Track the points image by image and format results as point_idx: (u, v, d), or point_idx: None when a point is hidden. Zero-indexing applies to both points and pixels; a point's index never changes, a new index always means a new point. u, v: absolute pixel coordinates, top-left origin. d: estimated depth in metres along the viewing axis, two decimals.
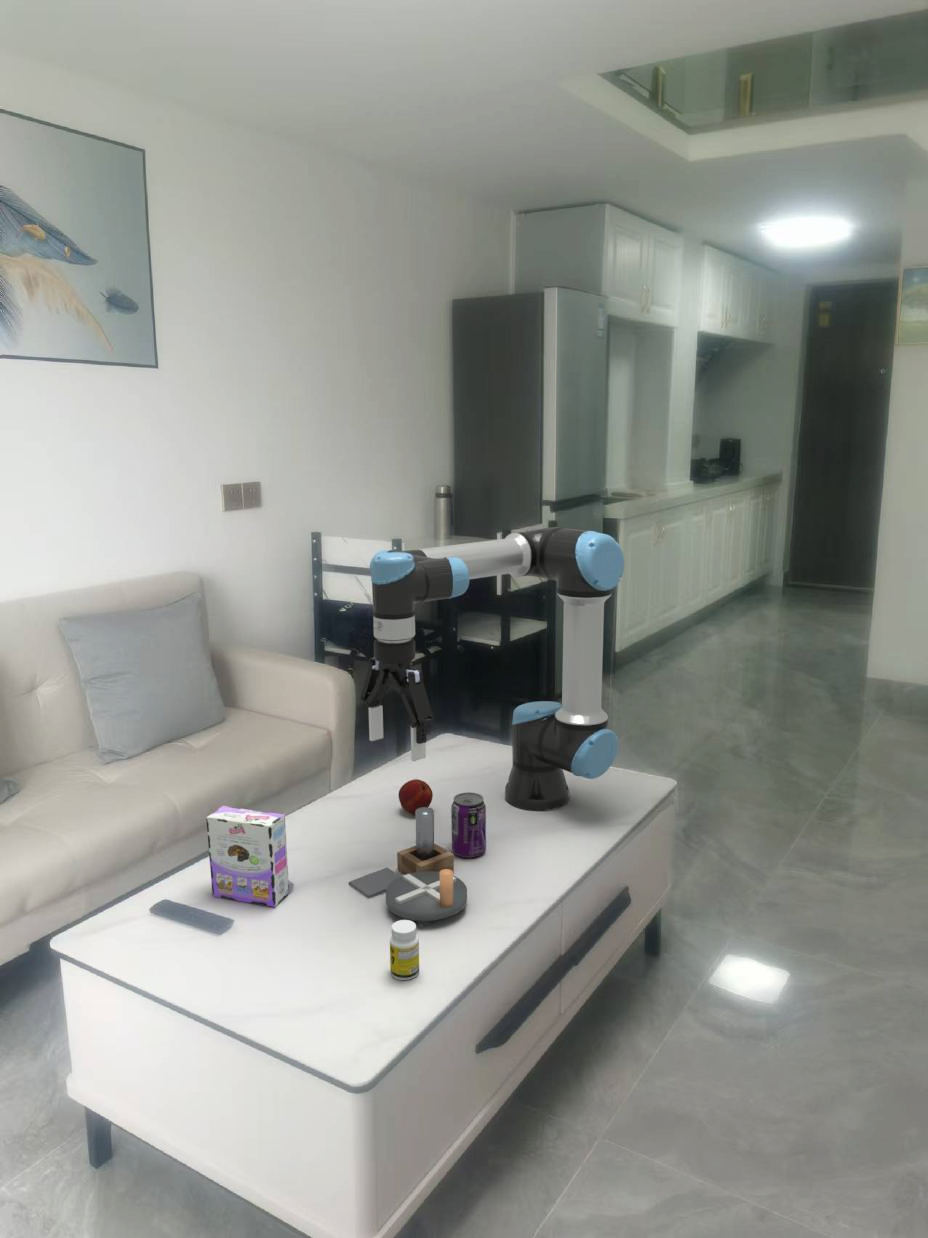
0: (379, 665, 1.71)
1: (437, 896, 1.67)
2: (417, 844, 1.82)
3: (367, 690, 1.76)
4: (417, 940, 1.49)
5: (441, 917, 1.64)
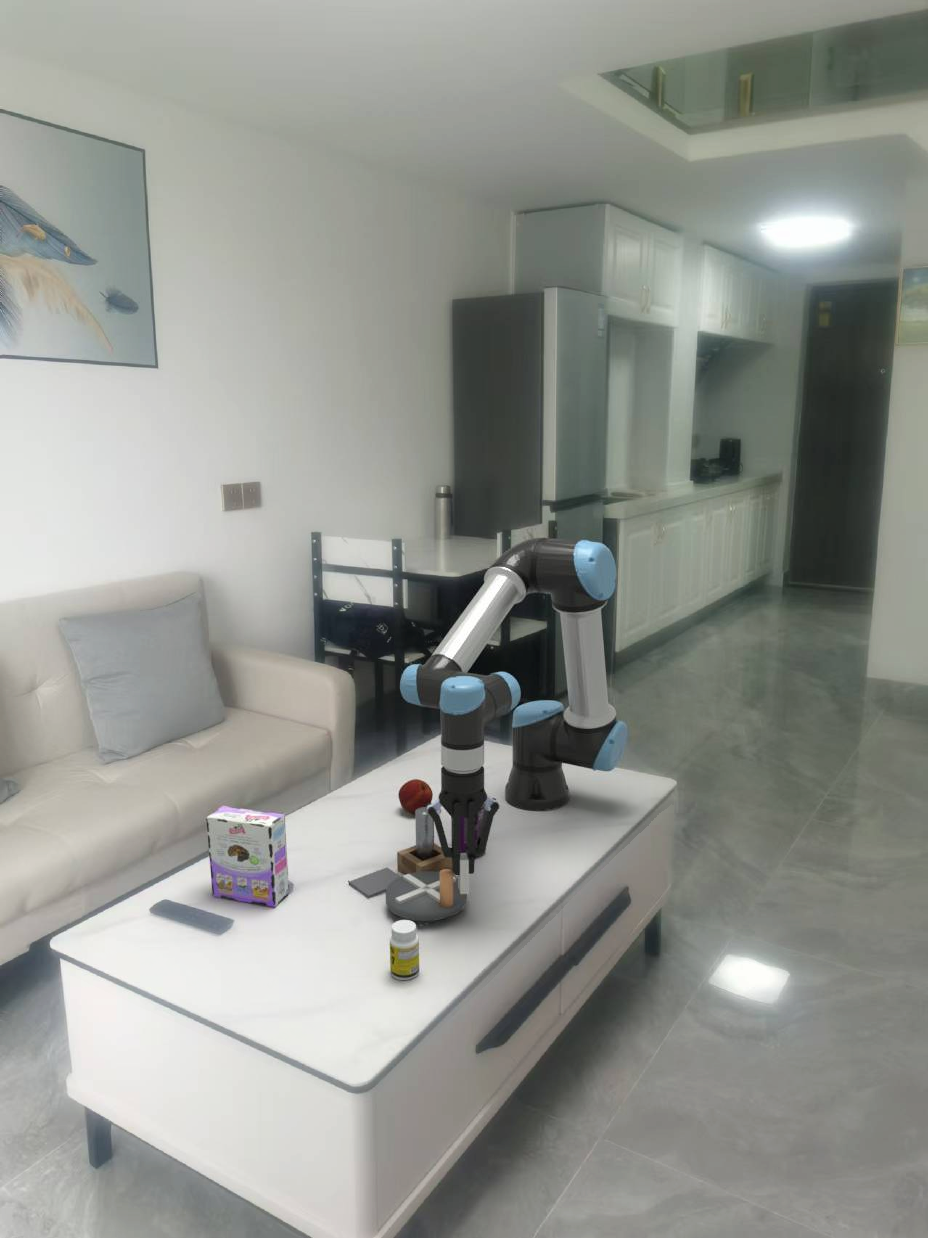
0: None
1: (437, 896, 1.67)
2: (417, 844, 1.82)
3: (479, 833, 1.65)
4: (417, 940, 1.49)
5: (441, 917, 1.64)
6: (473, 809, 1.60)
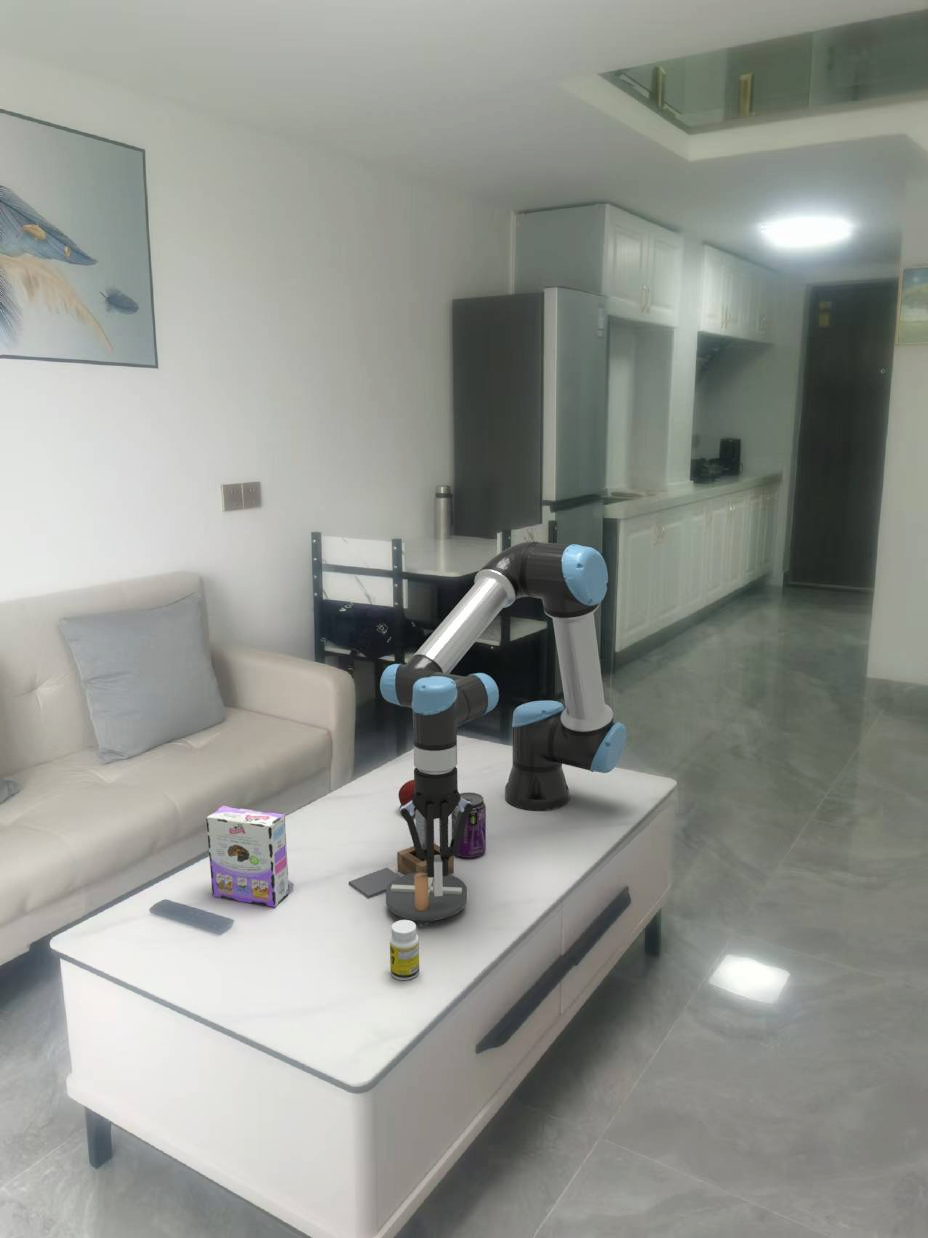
0: None
1: None
2: None
3: (453, 834, 1.64)
4: (417, 940, 1.49)
5: (409, 917, 1.64)
6: (446, 810, 1.59)
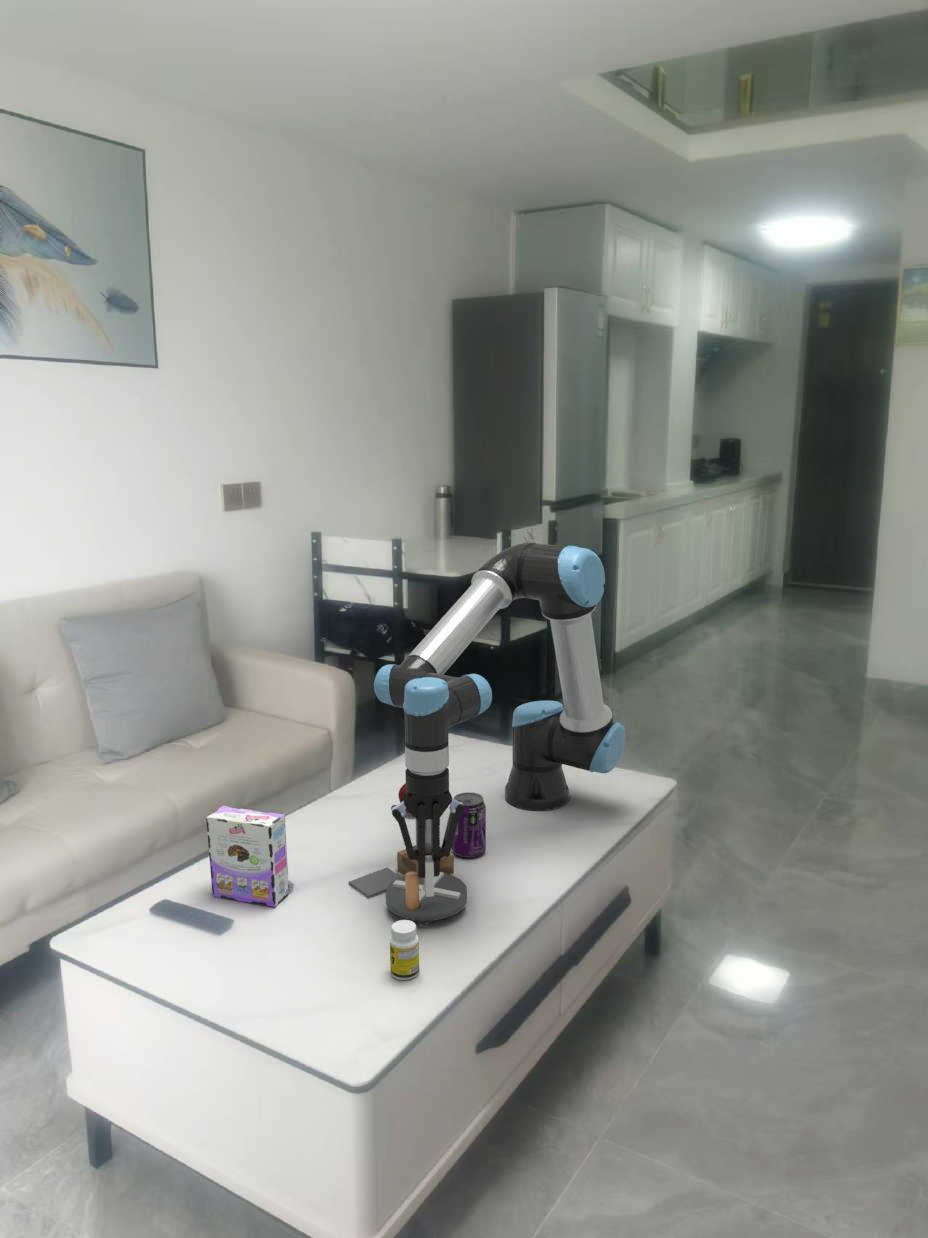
0: None
1: None
2: None
3: (444, 835, 1.64)
4: (417, 940, 1.49)
5: (399, 914, 1.65)
6: (438, 811, 1.59)
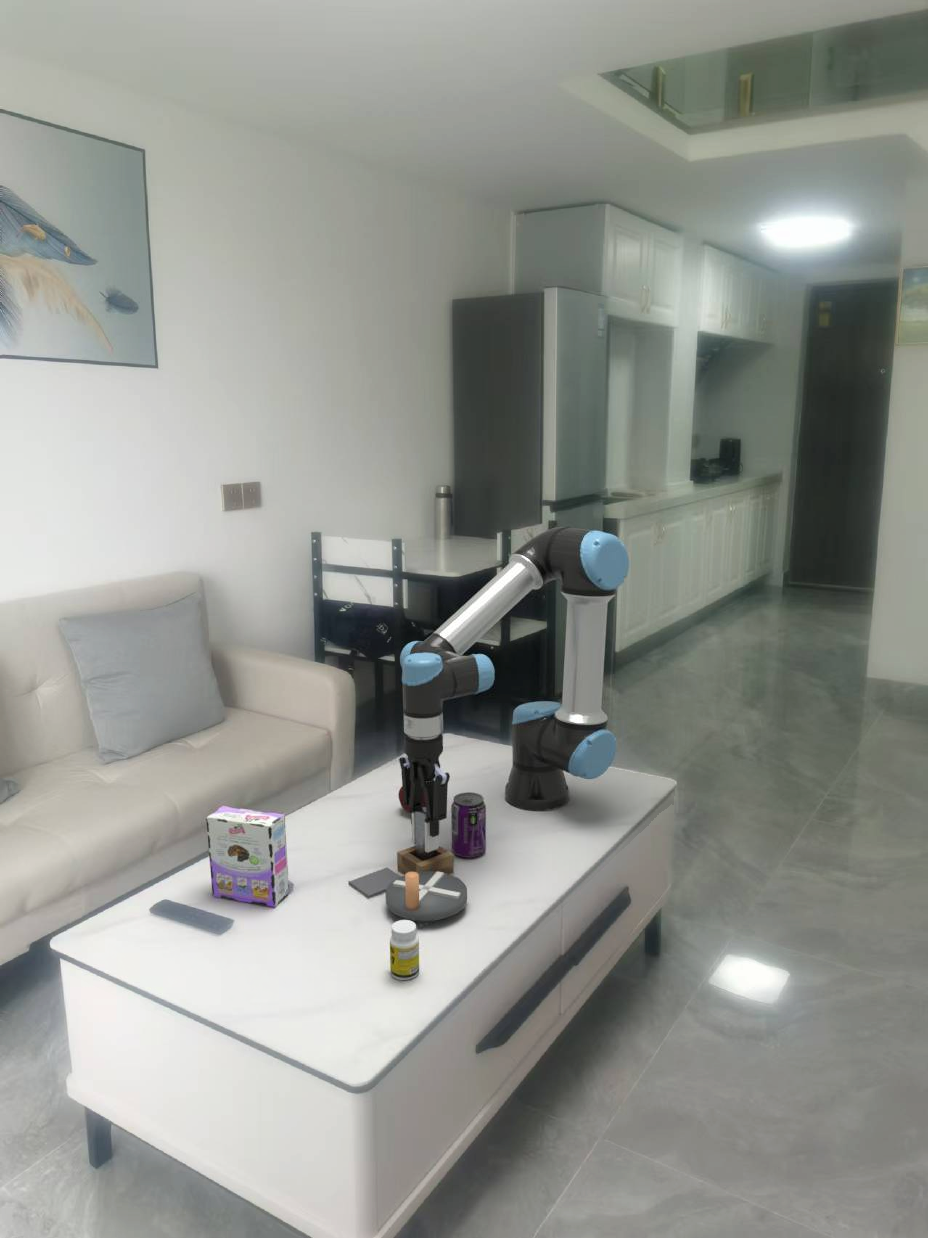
0: (408, 758, 1.81)
1: None
2: (417, 844, 1.82)
3: (407, 792, 1.83)
4: (417, 940, 1.49)
5: (399, 914, 1.65)
6: None
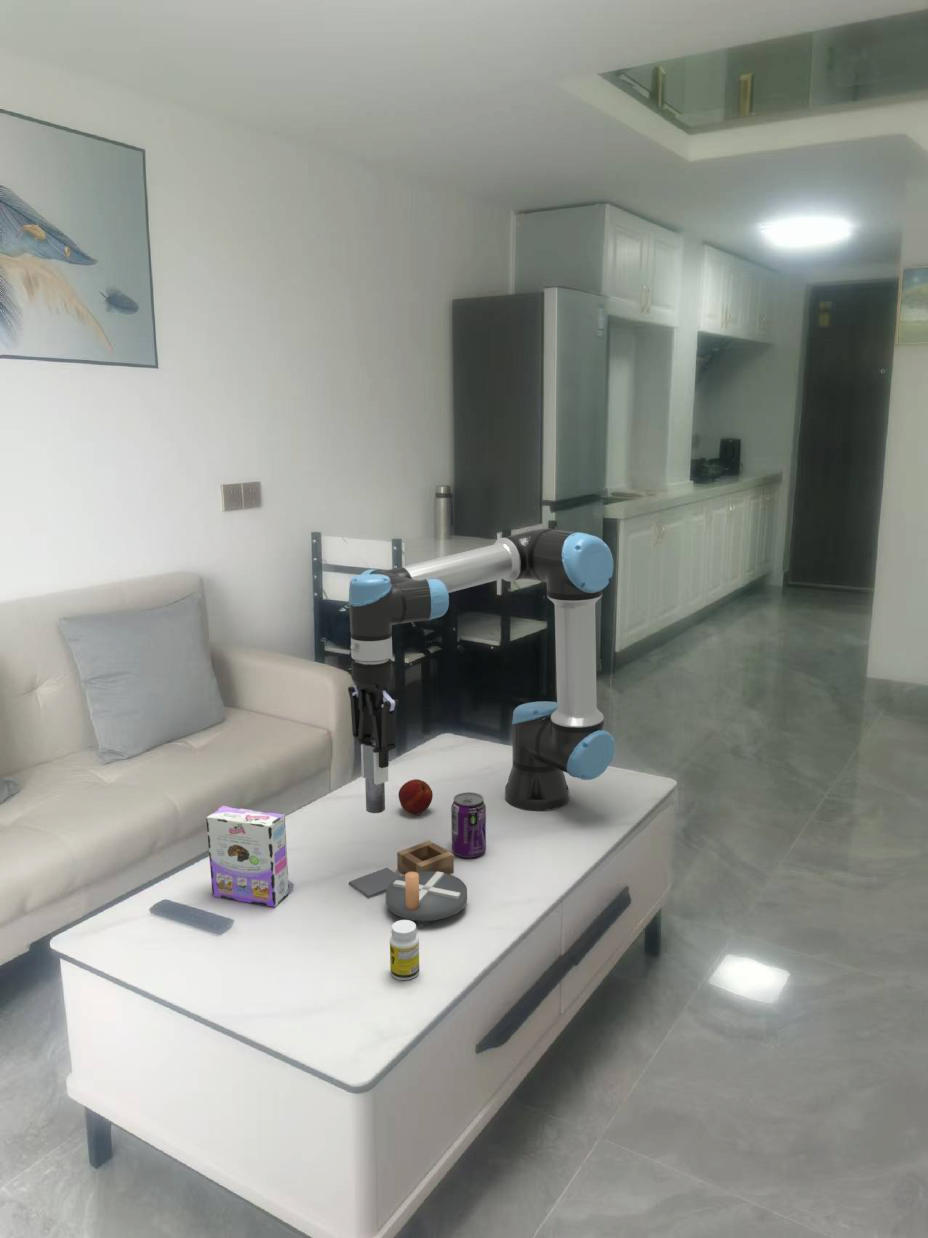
0: (357, 686, 1.73)
1: None
2: (366, 779, 1.74)
3: (356, 722, 1.75)
4: (417, 940, 1.49)
5: (399, 914, 1.65)
6: None
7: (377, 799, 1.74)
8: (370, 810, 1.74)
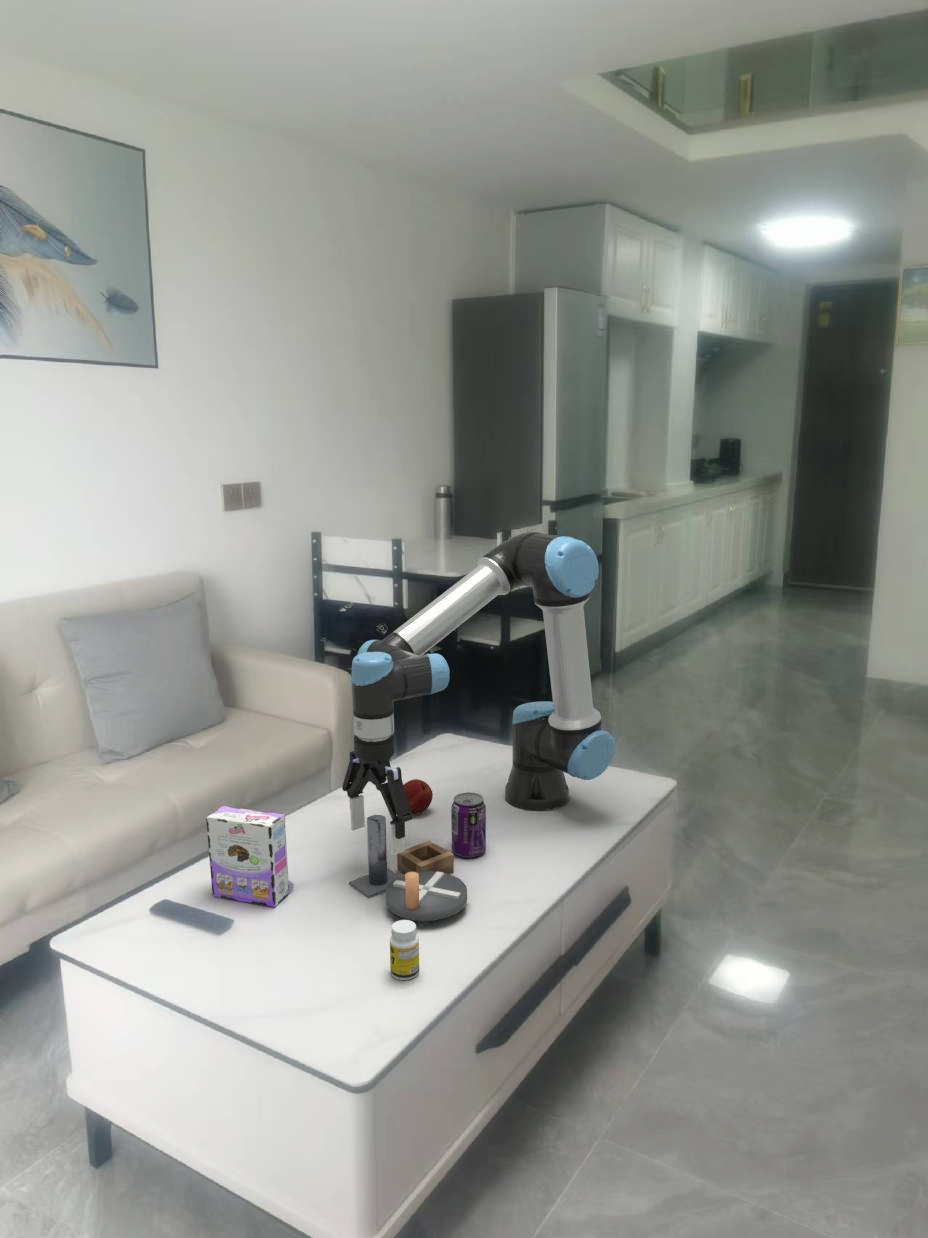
0: (359, 759, 1.76)
1: None
2: (369, 853, 1.77)
3: (348, 781, 1.81)
4: (417, 940, 1.49)
5: (399, 914, 1.65)
6: None
7: (379, 872, 1.77)
8: (373, 882, 1.78)
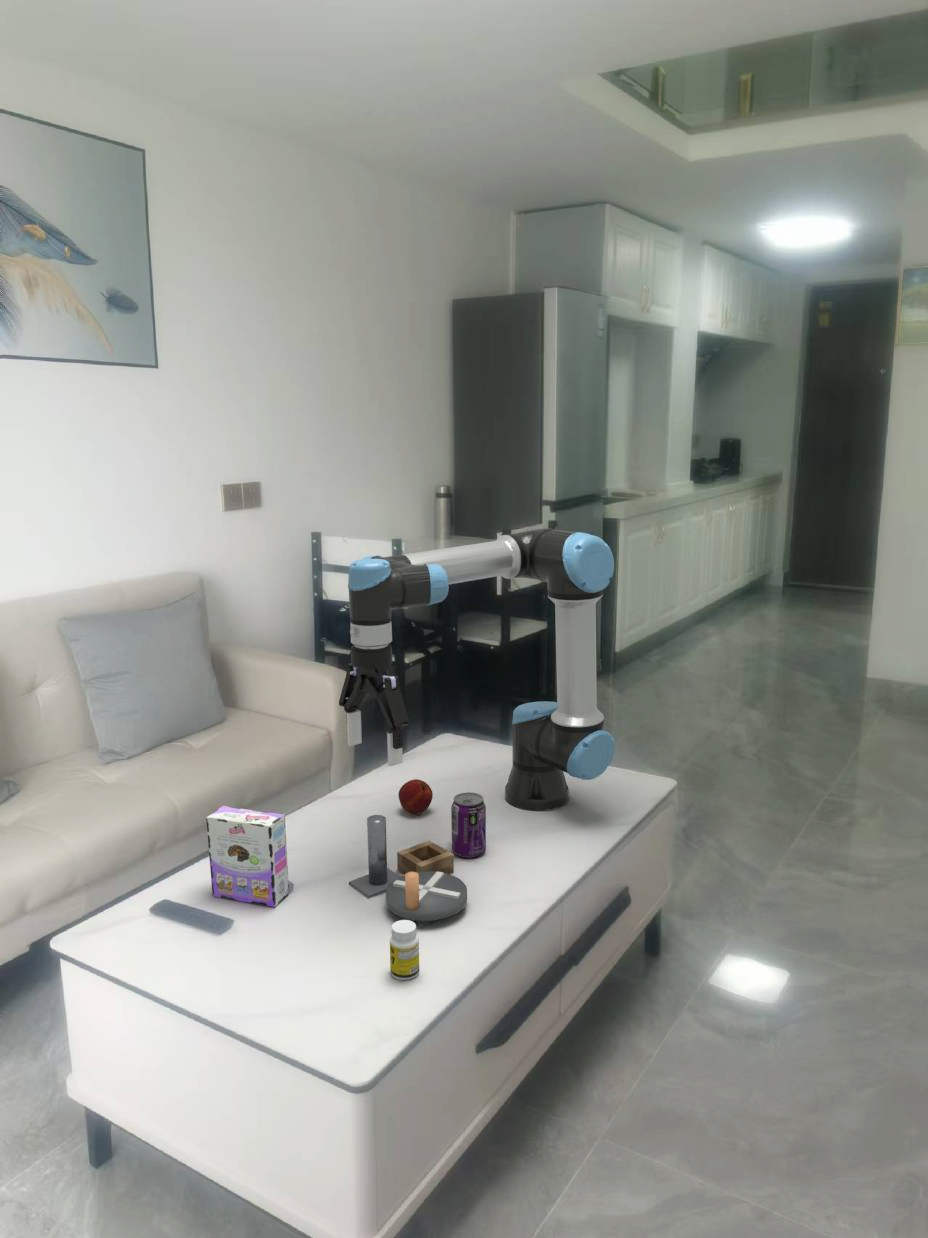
0: (356, 671, 1.72)
1: None
2: (369, 853, 1.77)
3: (345, 695, 1.77)
4: (417, 940, 1.49)
5: (399, 914, 1.65)
6: None
7: (379, 872, 1.77)
8: (373, 882, 1.78)
